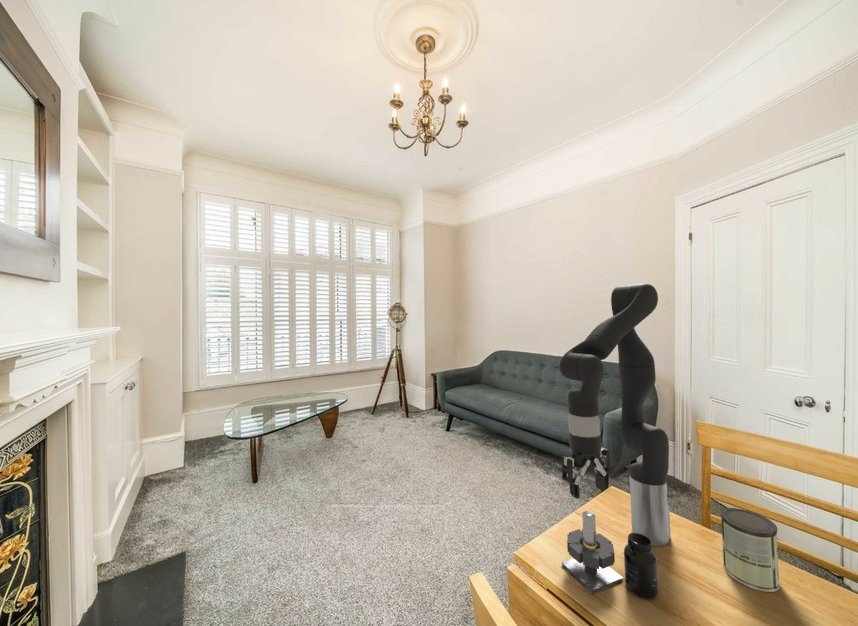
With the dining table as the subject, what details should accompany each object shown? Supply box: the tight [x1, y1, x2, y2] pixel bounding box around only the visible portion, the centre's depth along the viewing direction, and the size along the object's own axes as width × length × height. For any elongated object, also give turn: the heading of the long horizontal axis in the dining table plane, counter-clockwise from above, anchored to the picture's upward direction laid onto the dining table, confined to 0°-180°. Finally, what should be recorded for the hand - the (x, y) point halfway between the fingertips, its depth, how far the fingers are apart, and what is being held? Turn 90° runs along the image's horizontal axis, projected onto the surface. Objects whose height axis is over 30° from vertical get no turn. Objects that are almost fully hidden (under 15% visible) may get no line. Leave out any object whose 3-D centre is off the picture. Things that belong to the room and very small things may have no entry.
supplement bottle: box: [623, 532, 659, 600], centre depth 81 cm, size 7×7×12 cm
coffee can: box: [720, 507, 781, 593], centre depth 83 cm, size 10×10×14 cm
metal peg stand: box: [561, 510, 624, 595], centre depth 86 cm, size 10×10×15 cm
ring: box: [566, 528, 616, 569], centre depth 86 cm, size 11×11×2 cm
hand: (588, 492), depth 86 cm, fingers open, 8 cm apart
